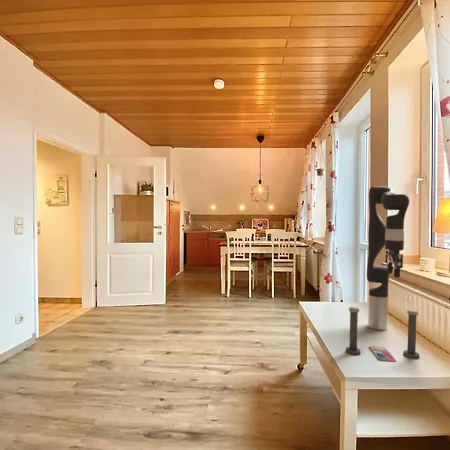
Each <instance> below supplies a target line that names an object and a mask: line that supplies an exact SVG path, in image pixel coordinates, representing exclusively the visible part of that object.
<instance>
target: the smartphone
mask: <svg viewBox="0 0 450 450" xmlns="http://www.w3.org/2000/svg"><path fill="white" fill-rule="evenodd" d="M368 349H369V350H370V351H371V353H372V355H374V356H375V358H376V359H377V360H378V361H379V360H380V362H391V363H396V362H397V360H396V359H395V357H394V356H393V354H391V353H390V351H389V350H388V349H387V348H386V347H385V346H375V345H369V346H368Z"/></svg>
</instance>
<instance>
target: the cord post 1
mask: <svg viewBox="0 0 450 450" xmlns="http://www.w3.org/2000/svg"><path fill="white" fill-rule="evenodd" d="M348 311H349V312H350V313H349V346H347V347H345V353H346V354H348V355H351V356H359V355H361V349H360V348H358V320H359V319H358V318H359V317H358V316H359V312H360V309H359V308H358V307H353V306H352V307H350V306H349V307H348Z"/></svg>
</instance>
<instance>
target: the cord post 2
mask: <svg viewBox="0 0 450 450" xmlns="http://www.w3.org/2000/svg"><path fill="white" fill-rule="evenodd" d="M406 313H407V315H408V320H407V321H408V322H407V350H406V349H405V350H403V351H402V352H403V354H402V355H403V356H404V357H406V358H409V359H415V360H416V359H417V360H418V359H420V353H419V352H417V351H416V344H417V317H418V315H419V311H417V310H414V309H407V311H406Z"/></svg>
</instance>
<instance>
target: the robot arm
mask: <svg viewBox="0 0 450 450" xmlns="http://www.w3.org/2000/svg"><path fill="white" fill-rule="evenodd" d="M377 205H382V207H383V209H384V210H386V211H398V212H397V213H396V214H392V215H388V216H387V217H386V221H384V220H383V219H382V217H381V216H380V214H379V212H378V210H377V209H378V208H377ZM409 206H410V197H409V196H408V195H407V194H404V193H403V194H402V193H395V192H394V191H393V189H392V188H391V187H389V186H371V187H370V188H369V192H368V211H369V212H368V214H369V216H368V218H369V219H368V231H367V232H368V236H367V237H368V238H367V239H368V241H367V242H368V249H367V252H368V254H367V266H366V280H367V282H368V283H373V284H374V283H375V284H376V283H377V284H380V285H379V286H377V287H372V288H370V289H369V290H368V320H367V322H368V324H367V327H368V328H370V329H373V330H378V331H385V330H388V308H389V307H388V306H389V305H388V304H389V303H388V302H389V280H390V274H393V277H394V278H400V277H401V269H403V268H404V265H403V264H404V254H403V253H400V251H403V250H404V249H405V248H404V247H405V231H404V229H405V218H406V213H407V210H408V207H409ZM383 248H384V249H385V257H384V258H385V261H384V262H385V263H386V265H379V264H378V265H377V264H374V263H375V261H376V258H377V257H378V255H379V253H380V252H381V251H382V249H383Z"/></svg>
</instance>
